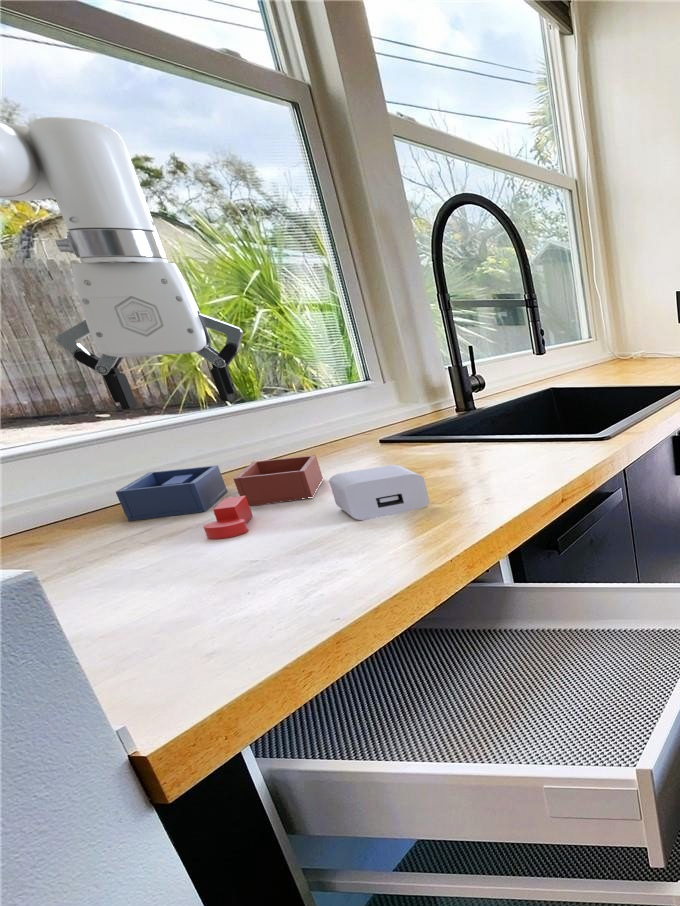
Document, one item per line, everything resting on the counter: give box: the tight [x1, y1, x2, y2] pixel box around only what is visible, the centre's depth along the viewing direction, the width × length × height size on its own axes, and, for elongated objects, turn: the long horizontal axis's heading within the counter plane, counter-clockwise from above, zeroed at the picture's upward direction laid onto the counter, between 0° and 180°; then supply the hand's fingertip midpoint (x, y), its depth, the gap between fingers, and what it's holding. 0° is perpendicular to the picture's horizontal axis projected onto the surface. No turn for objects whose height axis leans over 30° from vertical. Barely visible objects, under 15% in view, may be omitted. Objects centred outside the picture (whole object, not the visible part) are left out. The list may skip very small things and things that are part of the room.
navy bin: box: [115, 464, 228, 522], centre depth 97 cm, size 8×13×4 cm, turn 27°
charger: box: [328, 464, 430, 521], centre depth 94 cm, size 5×9×15 cm
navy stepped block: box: [161, 474, 195, 486], centre depth 97 cm, size 10×4×3 cm, turn 27°
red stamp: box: [203, 496, 254, 540], centre depth 86 cm, size 10×4×3 cm, turn 27°
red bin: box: [233, 454, 324, 507], centre depth 102 cm, size 8×13×4 cm, turn 27°
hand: (180, 404), depth 86 cm, fingers open, 9 cm apart
